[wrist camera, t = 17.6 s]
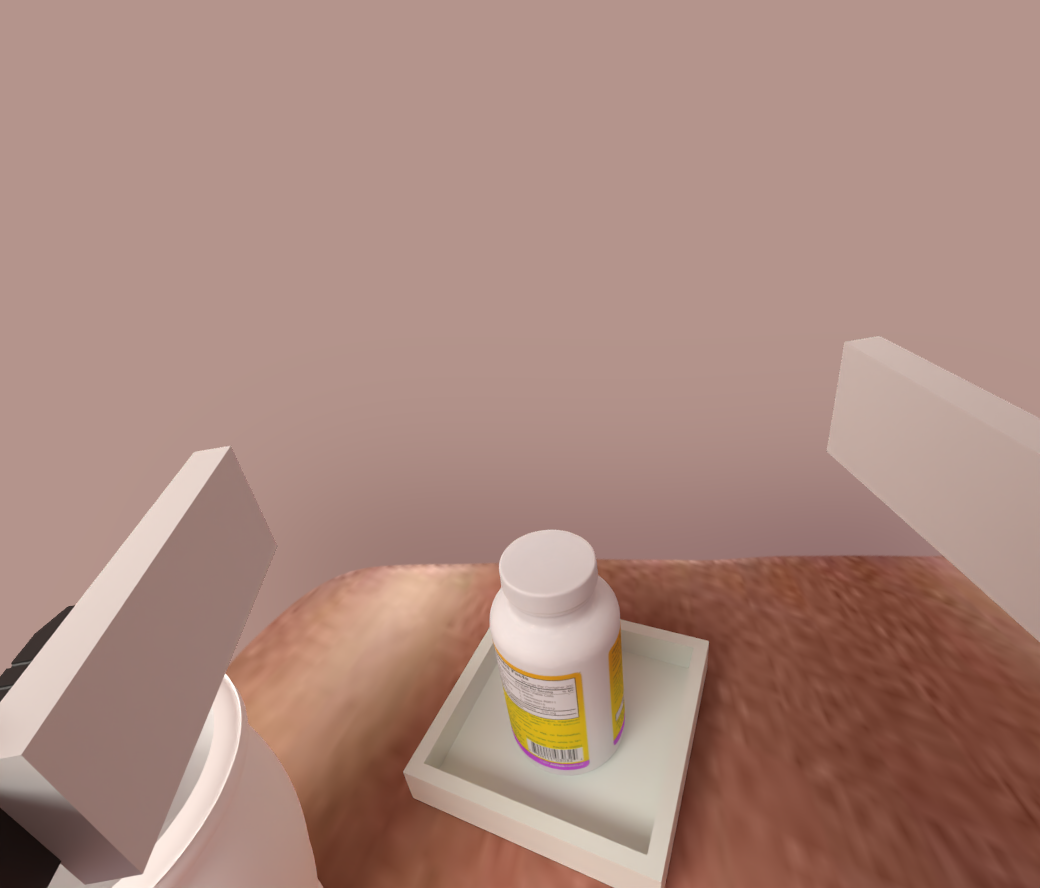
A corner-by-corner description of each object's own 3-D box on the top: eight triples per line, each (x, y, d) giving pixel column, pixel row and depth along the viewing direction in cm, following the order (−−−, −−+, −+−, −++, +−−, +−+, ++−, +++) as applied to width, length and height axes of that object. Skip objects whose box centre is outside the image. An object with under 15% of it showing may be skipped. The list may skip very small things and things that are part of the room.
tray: (707, 667, 36) (709, 641, 35) (660, 908, 26) (661, 882, 24) (514, 616, 42) (510, 592, 40) (412, 797, 31) (402, 771, 30)
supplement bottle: (583, 659, 37) (570, 500, 31) (649, 741, 32) (649, 570, 26) (492, 709, 35) (457, 548, 28) (547, 806, 30) (519, 636, 23)
